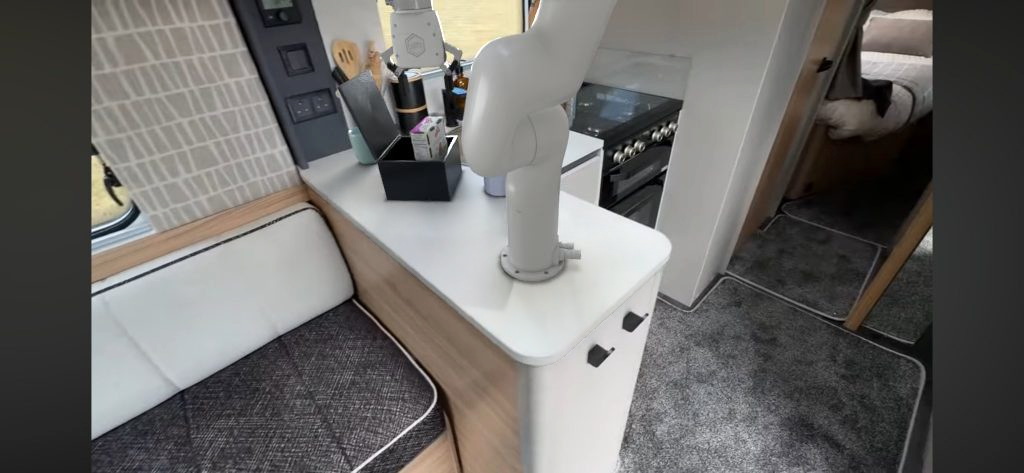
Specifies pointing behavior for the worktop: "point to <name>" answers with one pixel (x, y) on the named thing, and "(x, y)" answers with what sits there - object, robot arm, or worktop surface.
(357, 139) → the cup
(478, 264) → the worktop surface
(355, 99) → the bin lid
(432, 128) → the candy bar box
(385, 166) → the bin
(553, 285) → the worktop surface
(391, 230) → the worktop surface
